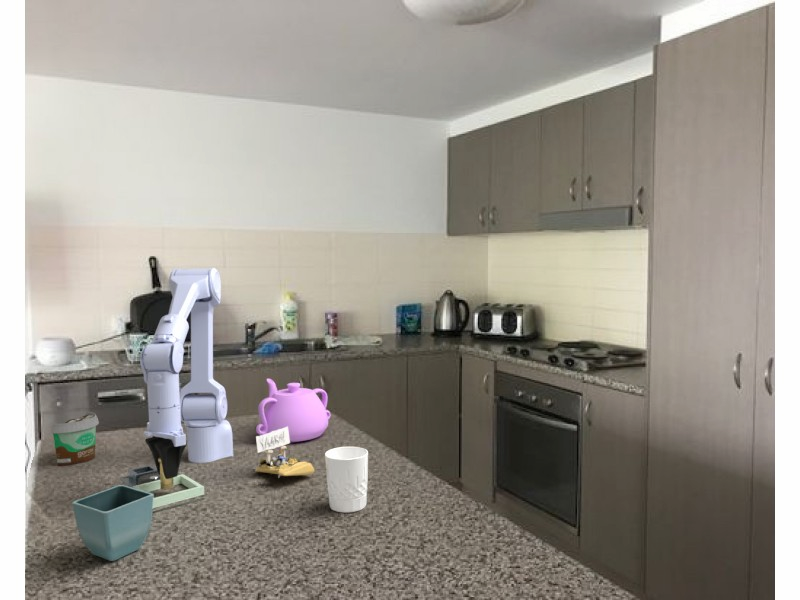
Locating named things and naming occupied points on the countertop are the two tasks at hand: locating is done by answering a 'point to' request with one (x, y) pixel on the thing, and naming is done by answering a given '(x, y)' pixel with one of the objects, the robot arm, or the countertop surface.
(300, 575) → the countertop surface
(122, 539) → the flower pot
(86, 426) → the food container
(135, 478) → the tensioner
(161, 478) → the pin
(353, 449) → the white cup
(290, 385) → the teapot
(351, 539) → the countertop surface
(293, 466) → the figurine with sign
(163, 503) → the tray
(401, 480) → the countertop surface
